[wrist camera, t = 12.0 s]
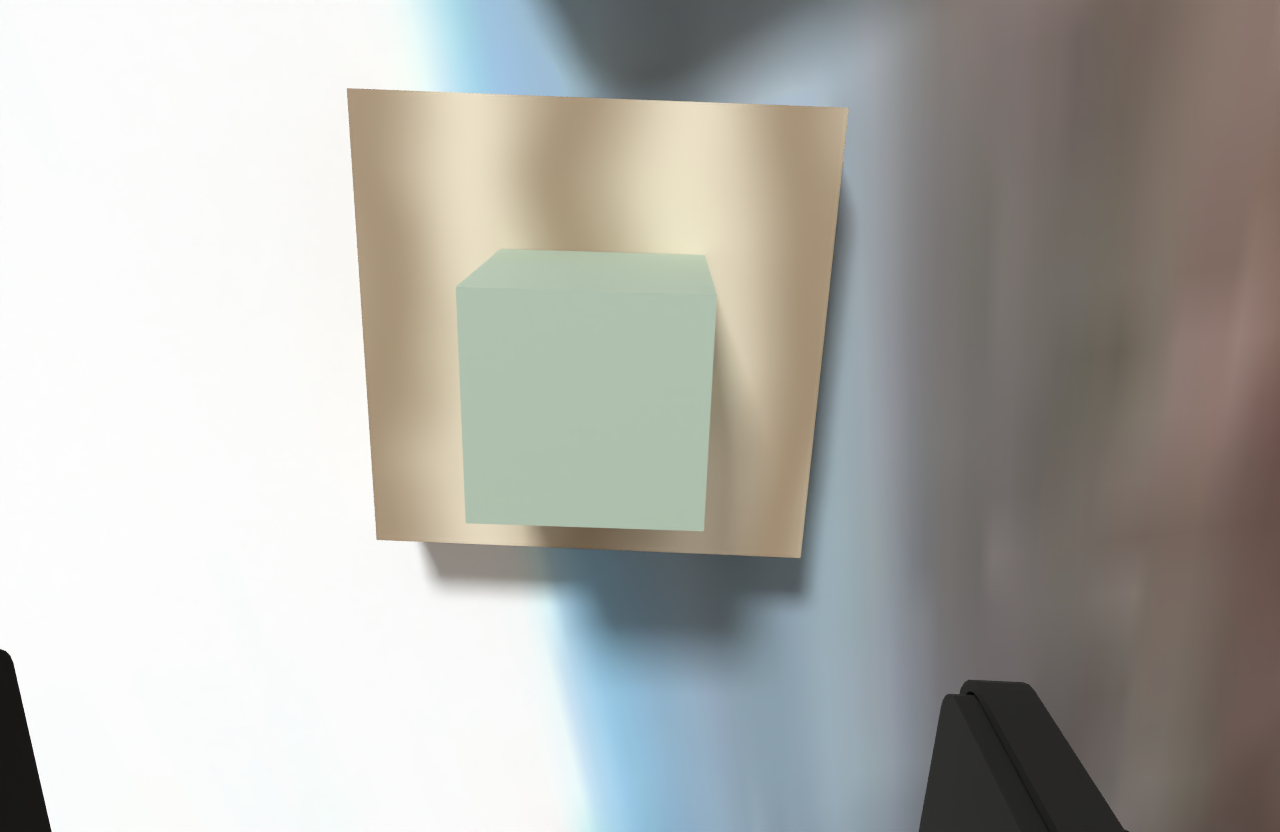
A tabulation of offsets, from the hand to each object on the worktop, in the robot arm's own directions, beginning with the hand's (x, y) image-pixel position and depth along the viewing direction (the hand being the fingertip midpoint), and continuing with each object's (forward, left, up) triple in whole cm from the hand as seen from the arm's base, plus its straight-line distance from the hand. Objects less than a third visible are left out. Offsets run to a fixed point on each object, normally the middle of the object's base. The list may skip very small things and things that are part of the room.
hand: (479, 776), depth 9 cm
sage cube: (0, +1, -19) cm, 19 cm away
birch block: (0, 0, -23) cm, 23 cm away
